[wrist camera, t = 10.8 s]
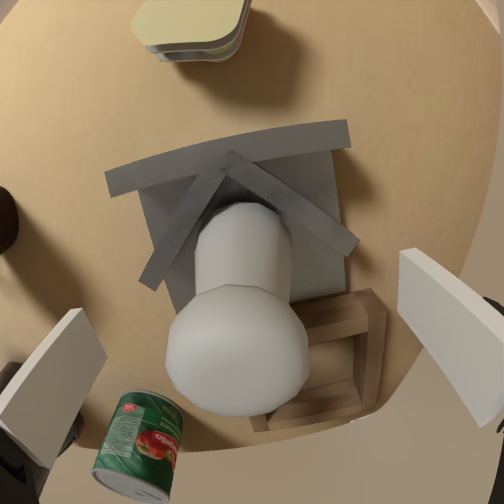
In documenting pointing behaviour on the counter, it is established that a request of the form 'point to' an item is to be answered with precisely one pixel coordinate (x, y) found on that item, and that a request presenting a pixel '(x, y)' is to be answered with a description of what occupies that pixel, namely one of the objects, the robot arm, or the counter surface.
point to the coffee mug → (7, 220)
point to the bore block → (364, 370)
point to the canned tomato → (140, 447)
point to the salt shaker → (240, 317)
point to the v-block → (245, 190)
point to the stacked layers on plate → (191, 28)
